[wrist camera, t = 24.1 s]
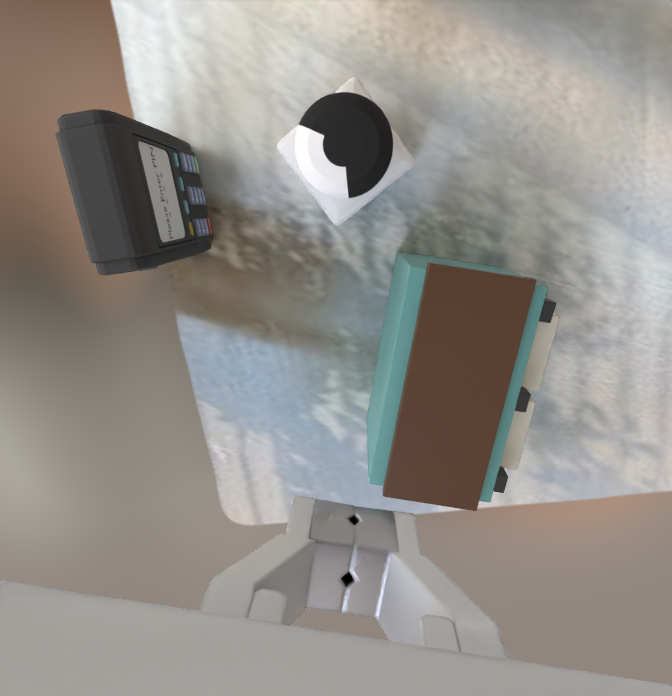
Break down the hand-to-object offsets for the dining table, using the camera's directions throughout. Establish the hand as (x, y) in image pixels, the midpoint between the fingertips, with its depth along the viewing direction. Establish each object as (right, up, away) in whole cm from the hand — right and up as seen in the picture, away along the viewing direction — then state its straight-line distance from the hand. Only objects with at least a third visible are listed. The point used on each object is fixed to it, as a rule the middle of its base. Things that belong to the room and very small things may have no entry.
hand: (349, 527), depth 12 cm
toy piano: (+8, +5, +33) cm, 34 cm away
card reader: (-13, +17, +30) cm, 37 cm away
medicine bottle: (+1, +20, +29) cm, 35 cm away
